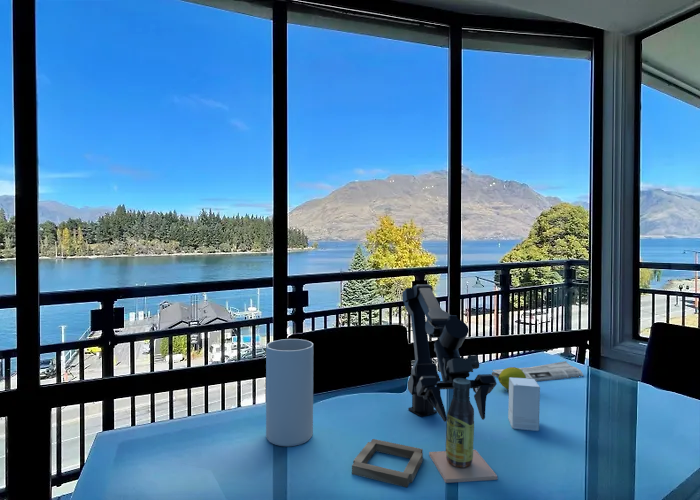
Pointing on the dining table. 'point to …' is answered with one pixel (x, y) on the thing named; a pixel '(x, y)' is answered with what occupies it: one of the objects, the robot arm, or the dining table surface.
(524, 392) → the supplement box
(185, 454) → the dining table surface
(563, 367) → the newspaper
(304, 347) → the cylinder vase
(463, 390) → the sauce bottle
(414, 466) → the bottle holder
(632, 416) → the dining table surface
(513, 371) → the lemon
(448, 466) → the tile
